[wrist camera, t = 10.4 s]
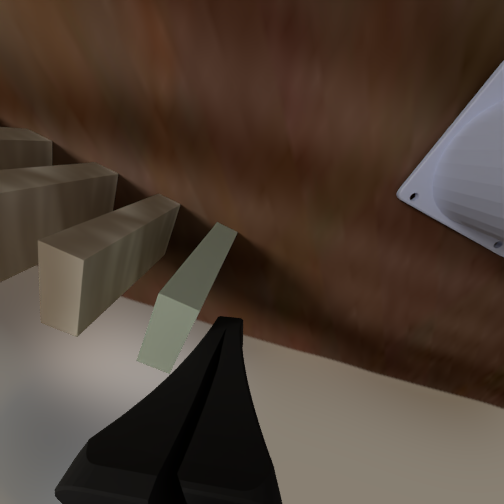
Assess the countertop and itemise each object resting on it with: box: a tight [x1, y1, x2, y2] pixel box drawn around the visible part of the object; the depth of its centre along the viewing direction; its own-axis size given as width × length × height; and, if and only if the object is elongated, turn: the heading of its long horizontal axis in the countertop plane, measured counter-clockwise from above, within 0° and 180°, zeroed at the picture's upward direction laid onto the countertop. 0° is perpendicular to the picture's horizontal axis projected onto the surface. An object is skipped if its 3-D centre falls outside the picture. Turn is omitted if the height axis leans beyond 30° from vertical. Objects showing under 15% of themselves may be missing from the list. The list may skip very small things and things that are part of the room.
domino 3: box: [0, 162, 118, 282], centre depth 13 cm, size 2×5×9 cm, turn 154°
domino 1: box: [137, 222, 238, 373], centre depth 14 cm, size 2×5×9 cm, turn 154°
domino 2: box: [38, 194, 181, 337], centre depth 13 cm, size 2×5×9 cm, turn 154°
